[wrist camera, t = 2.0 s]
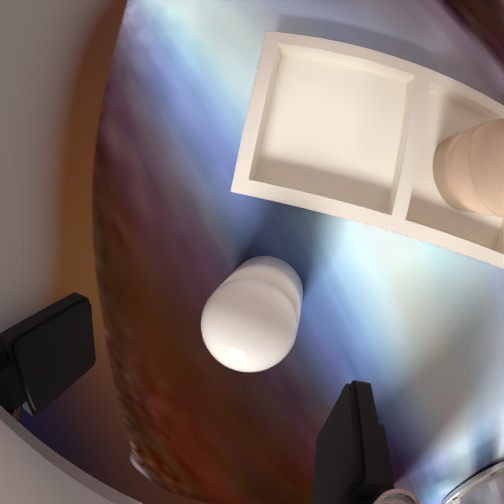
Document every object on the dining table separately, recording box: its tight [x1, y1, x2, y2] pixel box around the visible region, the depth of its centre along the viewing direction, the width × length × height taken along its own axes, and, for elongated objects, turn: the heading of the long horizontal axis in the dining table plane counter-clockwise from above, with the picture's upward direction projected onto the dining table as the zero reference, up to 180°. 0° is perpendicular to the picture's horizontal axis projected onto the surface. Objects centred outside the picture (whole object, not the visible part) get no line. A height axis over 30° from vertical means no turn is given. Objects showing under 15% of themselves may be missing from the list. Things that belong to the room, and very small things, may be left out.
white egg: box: [201, 256, 303, 372], centre depth 15 cm, size 5×5×7 cm
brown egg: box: [433, 118, 504, 218], centre depth 10 cm, size 5×5×7 cm
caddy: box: [231, 31, 504, 269], centre depth 13 cm, size 18×10×2 cm, turn 79°
